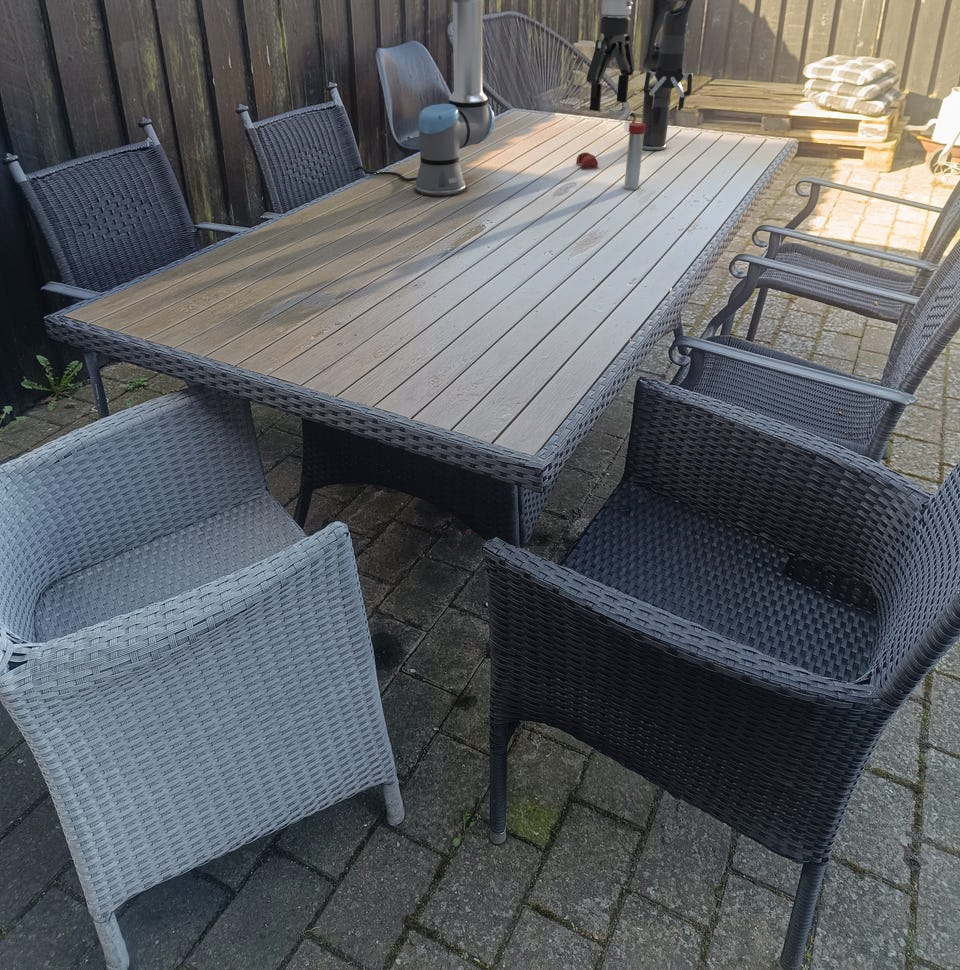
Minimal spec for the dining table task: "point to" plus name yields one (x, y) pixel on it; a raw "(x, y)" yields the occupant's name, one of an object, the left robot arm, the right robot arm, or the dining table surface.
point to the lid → (637, 128)
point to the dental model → (587, 160)
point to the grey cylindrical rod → (633, 161)
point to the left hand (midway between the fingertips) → (608, 106)
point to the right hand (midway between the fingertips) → (665, 109)
